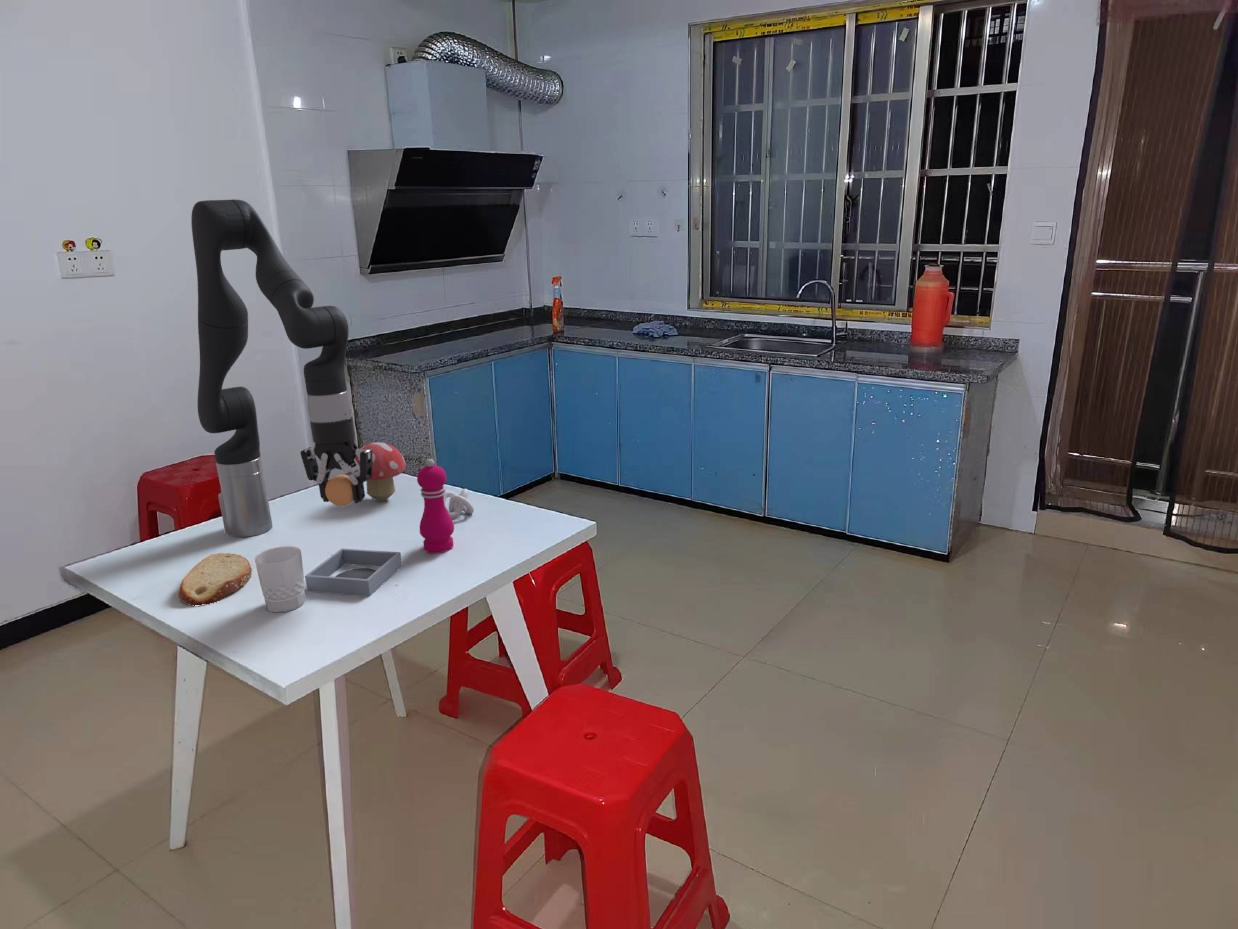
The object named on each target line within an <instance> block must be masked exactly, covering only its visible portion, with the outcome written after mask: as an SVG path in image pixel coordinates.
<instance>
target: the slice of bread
mask: <svg viewBox="0 0 1238 929" xmlns="http://www.w3.org/2000/svg"><path fill="white" fill-rule="evenodd" d="M252 572H253V569H252V566H251V564H250V561H249V560H248V559H247V558H246V557H244V556H242V555H241V554H236V553H229V552H228V553H227V552H225V553H224V552H221V553H220V552H219V553H213V554H210V555H208V556H207V557H205V558H203V559H202V560H201V561H199V562H198V563H197V564H196V565H195V566H194V567H192V568H191V569H190V571H189V572H188V573H187V574H186V575H185V576H184V578H183V579H182V581H181V583H180V587H179V590H178V599H179V600H180V601H181V602H183V603H184V604H186V605H188V604H190V605H189V606H192V605H194V606H195V605H202V604H208V605H211V604H210V603H213V604H215V603H214V602H216V603H218V602H217V601H219V602H220V601H221V599H222V600H223V599H225V598H227V597H229V596H232V595H233V594H235V593H237V592H239V591H240V590H242V589H243V588H244V587H245V586H246V585H247V584H248V583H249V581H250V579H251V578H252ZM241 588H242V589H241ZM194 606H193V607H194Z"/></svg>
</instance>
